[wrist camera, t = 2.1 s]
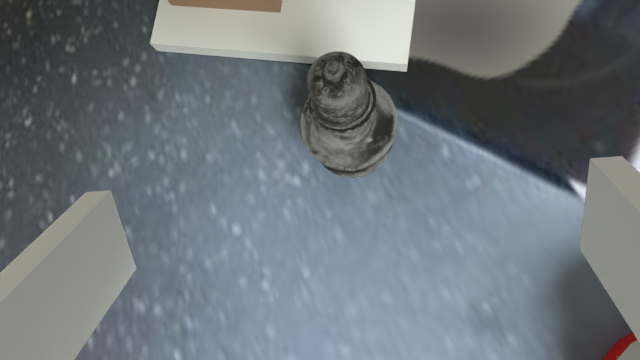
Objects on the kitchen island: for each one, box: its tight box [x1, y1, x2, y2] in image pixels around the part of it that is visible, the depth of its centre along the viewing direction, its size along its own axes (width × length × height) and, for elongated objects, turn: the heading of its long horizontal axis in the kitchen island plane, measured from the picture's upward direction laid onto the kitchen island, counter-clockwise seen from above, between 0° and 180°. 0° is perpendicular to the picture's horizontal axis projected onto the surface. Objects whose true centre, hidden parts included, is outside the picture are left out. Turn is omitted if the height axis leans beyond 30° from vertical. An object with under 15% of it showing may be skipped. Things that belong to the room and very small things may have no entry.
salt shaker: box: [300, 51, 398, 178], centre depth 29 cm, size 6×6×12 cm
